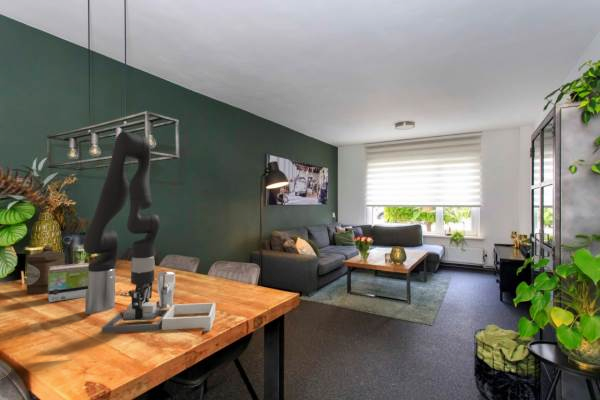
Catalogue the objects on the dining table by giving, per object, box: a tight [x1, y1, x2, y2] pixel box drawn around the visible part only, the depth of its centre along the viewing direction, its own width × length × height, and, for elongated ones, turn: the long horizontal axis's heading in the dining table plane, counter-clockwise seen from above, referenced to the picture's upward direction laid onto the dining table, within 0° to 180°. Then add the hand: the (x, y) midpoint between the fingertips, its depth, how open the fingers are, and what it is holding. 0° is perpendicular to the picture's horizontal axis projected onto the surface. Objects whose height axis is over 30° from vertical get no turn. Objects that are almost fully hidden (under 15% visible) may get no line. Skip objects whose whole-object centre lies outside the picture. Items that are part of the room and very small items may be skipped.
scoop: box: [119, 306, 160, 322], centre depth 107 cm, size 12×6×2 cm, turn 99°
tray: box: [101, 308, 170, 334], centre depth 107 cm, size 18×15×3 cm
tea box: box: [47, 262, 90, 303], centre depth 139 cm, size 15×10×15 cm
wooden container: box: [26, 245, 66, 295], centre depth 150 cm, size 15×15×22 cm
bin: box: [161, 302, 216, 332], centre depth 110 cm, size 16×15×5 cm
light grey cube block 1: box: [126, 302, 138, 313], centre depth 107 cm, size 4×4×4 cm
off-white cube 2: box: [143, 301, 157, 313], centre depth 107 cm, size 4×4×4 cm
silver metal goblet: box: [156, 270, 176, 309], centre depth 125 cm, size 7×7×15 cm
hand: (141, 315), depth 107 cm, fingers closed on scoop, 5 cm apart
